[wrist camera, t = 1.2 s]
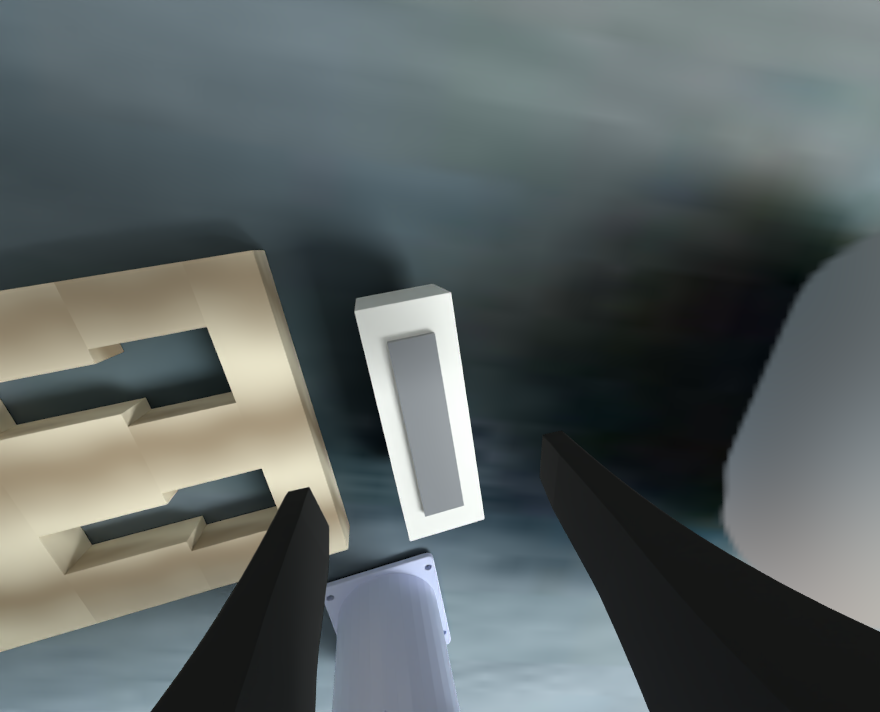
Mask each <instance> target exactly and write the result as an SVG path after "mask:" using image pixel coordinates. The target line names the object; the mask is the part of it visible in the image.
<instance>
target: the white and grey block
mask: <svg viewBox="0 0 880 712" xmlns="http://www.w3.org/2000/svg"><path fill="white" fill-rule="evenodd" d="M354 312H355V316H356V320H357V324H358V328H359V333H360V337H361V341H362V345H363V349H364V353H365V357H366V361H367V366H368V370H369V374H370V378H371V382H372V386H373V390H374V394H375V399H376V403H377V407H378V411H379V415H380V419H381V423H382V427H383V432H384V436H385V440H386V444H387V448H388V452H389V456H390V460H391V465H392V469H393V473H394V477H395V481H396V485H397V489H398V494H399V498H400V502H401V506H402V510H403V514H404V518H405V522H406V527H407V531H408V535H409V539H410V541H413V540H416V539H420V538H423V537H426V536H430V535H433V534H436V533H440V532H443V531H446V530H450V529H453V528H456V527H460V526H463V525H466V524H470V523H473V522H476V521H480V520H483V519H484V512H483V505H482V499H481V492H480V485H479V478H478V472H477V465H476V458H475V451H474V445H473V438H472V431H471V424H470V418H469V411H468V404H467V398H466V391H465V384H464V377H463V371H462V364H461V357H460V350H459V344H458V337H457V330H456V323H455V317H454V310H453V303H452V296H451V292H449V291H447V290H445V289H443V288H441V287H439V286H436V285H434V284H429V285H423V286H418V287H413V288H408V289H402V290H397V291H392V292H386V293H381V294H376V295H370V296H365V297H360V298H356V303H355V310H354Z"/></svg>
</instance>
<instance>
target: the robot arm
mask: <svg viewBox="0 0 880 712" xmlns="http://www.w3.org/2000/svg"><path fill="white" fill-rule="evenodd" d="M540 479H541V482H542V484H543V486H544V489H545V491H546V494H547V496H548V499H549V501H550V503H551V506H552V508H553V510H554V512H555V514H556V516H557V517H558V519H559V521H560V523H561V525H562V527H563V529H564V530H565V532H566V534H567V536H568V538H569V539H570V541H571V543H572V545H573V547H574V549H575V550H576V552H577V554H578V556H579V558H580V559H581V561H582V563H583V565H584V567H585V569H586V570H587V572H588V574H589V576H590V578H591V579H592V581H593V583H594V585H595V587H596V589H597V591H598V593H599V595H600V597H601V599H602V602H603V604H604V606H605V608H606V611H607V613H608V615H609V617H610V619H611V622H612V624H613V626H614V628H615V631H616V633H617V635H618V637H619V640H620V642H621V644H622V647H623V649H624V651H625V654H626V656H627V658H628V661H629V663H630V665H631V668H632V670H633V672H634V675H635V677H636V680H637V682H638V685H639V687H640V689H641V692H642V694H643V697H644V699H645V702H646V704H647V707H648V709H649V712H880V632H879V631H877V630H875V629H873V628H871V627H868V626H866V625H864V624H862V623H860V622H858V621H856V620H854V619H851V618H849V617H847V616H845V615H843V614H841V613H839V612H837V611H835V610H832V609H830V608H828V607H826V606H824V605H822V604H820V603H818V602H816V601H815V600H813V599H811V598H809V597H807V596H805V595H803V594H801V593H799V592H797V591H795V590H793V589H791V588H789V587H787V586H785V585H783V584H782V583H780V582H778V581H776V580H774V579H773V578H771V577H769V576H767V575H765V574H764V573H762V572H760V571H758V570H757V569H755V568H753V567H751V566H750V565H748V564H746V563H744V562H742V561H741V560H739V559H737V558H735V557H734V556H732V555H730V554H728V553H727V552H725V551H723V550H722V549H720V548H718V547H717V546H715V545H714V544H712V543H710V542H709V541H707V540H705V539H704V538H702V537H701V536H699V535H697V534H696V533H694V532H693V531H691V530H690V529H688V528H687V527H685V526H684V525H682V524H680V523H679V522H678V521H676V520H675V519H673V518H672V517H670V516H669V515H667V514H666V513H664V512H663V511H662V510H660V509H659V508H657V507H656V506H655V505H653V504H652V503H650V502H649V501H648V500H646V499H645V498H644V497H642V496H641V495H640V494H638V493H637V492H636V491H634V490H633V489H632V488H630V487H629V486H628V485H626V484H625V483H624V482H623V481H621V480H620V479H619V478H618V477H616V476H615V475H614V474H612V473H611V472H610V471H609V470H607V469H606V468H605V467H604V466H603V465H601V464H600V463H599V462H598V461H597V460H595V459H594V458H593V457H592V456H591V455H589V454H588V453H587V452H586V451H585V450H584V449H582V448H581V447H580V446H579V445H578V444H577V443H575V442H574V441H573V440H572V439H571V438H570V437H569V436H567V435H566V434H565V433H564V432H562V431H558V432H553V433H549V434H544V435H543V438H542V452H541V466H540ZM426 565H428V566H426ZM328 568H329V525H328V523H327V521H326V519H325V517H324V515H323V513H322V511H321V509H320V507H319V505H318V503H317V501H316V499H315V497H314V495H313V493H312V491H311V489H310V487H306V488H302V489H297V490H293V491H288V493H287V494H286V495H285V497H284V499H283V501H282V503H281V505H280V507H279V509H278V511H277V513H276V515H275V517H274V518H273V520H272V522H271V524H270V526H269V528H268V530H267V532H266V534H265V535H264V537H263V539H262V541H261V543H260V545H259V547H258V548H257V550H256V552H255V554H254V555H253V557H252V559H251V561H250V562H249V564H248V566H247V568H246V570H245V571H244V573H243V575H242V577H241V578H240V580H239V582H238V583H237V585H236V587H235V588H234V590H233V591H232V593H231V595H230V596H229V598H228V600H227V601H226V603H225V604H224V606H223V608H222V609H221V611H220V613H219V614H218V616H217V617H216V619H215V621H214V622H213V624H212V625H211V627H210V628H209V630H208V631H207V633H206V634H205V636H204V637H203V639H202V640H201V642H200V643H199V645H198V646H197V648H196V649H195V651H194V652H193V654H192V655H191V657H190V658H189V659H188V661H187V662H186V664H185V665H184V667H183V668H182V670H181V671H180V672H179V674H178V675H177V677H176V678H175V679H174V681H173V682H172V683H171V685H170V686H169V688H168V689H167V690H166V692H165V693H164V694H163V696H162V697H161V698H160V700H159V701H158V703H157V704H156V705H155V707H154V708H153V709H152V711H151V712H315V703H316V677H317V664H318V652H319V644H320V636H321V628H322V619H323V611H324V603H325V606H326V609H327V611H328V614H329V617H330V620H331V622H332V625H333V628H334V630H335V633H336V636H337V645H336V660H335V675H334V689H333V704H332V712H460V707H459V703H458V698H457V693H456V688H455V684H454V679H453V674H452V669H451V665H450V660H449V655H448V650H447V646H446V645H448V644H449V643H450V641H451V637H450V632H449V628H448V623H447V619H446V614H445V609H444V605H443V600H442V596H441V591H440V587H439V582H438V577H437V573H436V568H435V564H434V559H433V556H432V554H431V553H424V554H420V555H417V556H414V557H411V558H407V559H404V560H401V561H398V562H394V563H391V564H388V565H385V566H381V567H378V568H375V569H372V570H368V571H365V572H362V573H358V574H355V575H352V576H349V577H345V578H342V579H339V580H336V581H332V582H329V583H327V577H328ZM329 595H332V596H329Z"/></svg>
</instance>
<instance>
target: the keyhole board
mask: <svg viewBox="0 0 880 712" xmlns="http://www.w3.org/2000/svg"><path fill="white" fill-rule="evenodd" d="M204 327H207V329H208V331H209V334H210V336H211V339H212V341H213V344H214V347H215V349H216V352H217V354H218V357H219V359H220V362H221V365H222V367H223V370H224V372H225V375H226V378H227V380H228V383H229V385H230V388H231V390H232V392H228V393H224V394H219V395H214V396H210V397H205V398H201V399H196V400H191V401H187V402H182V403H177V404H173V405H168V406H164V407H159V408H154V409H151V407H150V405H149V403H148V401H147V399H146V398H141V399H137V400H132V401H127V402H122V403H118V404H113V405H108V406H104V407H99V408H94V409H89V410H85V411H80V412H75V413H70V414H66V415H61V416H56V417H52V418H47V419H42V420H37V421H33V422H28V423H23V424H19V425H16V423H15V422H14V420H13V418H12V417H11V415H10V414H9V412H8V410H7V409H6V407H5V406H4V404H3V403H2V401H1V399H0V652H2V651H5V650H9V649H12V648H16V647H19V646H22V645H26V644H29V643H33V642H36V641H39V640H43V639H46V638H50V637H53V636H56V635H60V634H63V633H66V632H70V631H73V630H77V629H80V628H83V627H87V626H90V625H94V624H97V623H100V622H104V621H107V620H110V619H114V618H117V617H121V616H124V615H127V614H131V613H134V612H138V611H141V610H144V609H148V608H151V607H155V606H158V605H161V604H165V603H168V602H171V601H175V600H178V599H182V598H185V597H188V596H192V595H195V594H199V593H202V592H205V591H209V590H212V589H216V588H219V587H222V586H226V585H229V584H232V583H236V582H239V580H240V578H241V577H242V575H243V573H244V571H245V570H246V568H247V566H248V564H249V562H250V561H251V559H252V557H253V555H254V554H255V552H256V550H257V548H258V547H259V545H260V543H261V541H262V539H263V537H264V535H265V534H266V532H267V530H268V528H269V526H270V524H271V522H272V520H273V518H274V517H275V515H276V513H277V511H278V509H279V507H280V505H281V503H282V501H283V499H284V497H285V495H286V494H287V493H288V491H293V490H297V489H302V488H306V487H310V489H311V491H312V493H313V495H314V497H315V499H316V501H317V503H318V505H319V507H320V509H321V511H322V513H323V515H324V517H325V519H326V521H327V523H328V525H329V555H331V554H334V553H337V552H341V551H344V550H348V545H349V522H348V519H347V516H346V513H345V509H344V506H343V503H342V500H341V496H340V493H339V490H338V487H337V483H336V480H335V477H334V474H333V471H332V467H331V464H330V461H329V458H328V454H327V451H326V448H325V445H324V441H323V438H322V435H321V432H320V429H319V425H318V422H317V419H316V416H315V412H314V409H313V406H312V403H311V399H310V396H309V393H308V390H307V387H306V383H305V380H304V377H303V374H302V370H301V367H300V364H299V361H298V357H297V354H296V351H295V348H294V345H293V341H292V338H291V335H290V332H289V328H288V325H287V322H286V319H285V315H284V312H283V309H282V306H281V303H280V299H279V296H278V293H277V290H276V286H275V283H274V280H273V277H272V273H271V270H270V267H269V264H268V261H267V257H266V254H265V251H264V250H251V251H245V252H239V253H233V254H226V255H220V256H214V257H208V258H201V259H195V260H189V261H183V262H177V263H170V264H164V265H158V266H152V267H145V268H139V269H133V270H127V271H121V272H114V273H108V274H102V275H96V276H89V277H83V278H77V279H71V280H65V281H58V282H52V283H46V284H40V285H33V286H27V287H21V288H15V289H8V290H2V291H0V382H5V381H10V380H15V379H20V378H25V377H30V376H35V375H40V374H46V373H51V372H56V371H61V370H66V369H71V368H76V367H82V366H87V365H92V364H96V363H99V362H101V361H103V360H106V359H108V358H110V357H113V356H115V355H117V354H120V353H122V352H124V351H123V349H122V347H121V345H120V343H124V342H129V341H135V340H140V339H145V338H151V337H156V336H161V335H167V334H172V333H177V332H182V331H188V330H193V329H198V328H204ZM261 468H262V470H263V473H264V476H265V478H266V481H267V483H268V486H269V489H270V491H271V494H272V496H273V499H274V501H275V504H276V506H274V507H271V508H267V509H263V510H260V511H256V512H252V513H248V514H245V515H241V516H237V517H233V518H230V519H226V520H222V521H219V522H215V523H211V524H206V522H205V520H204V518H203V516H199V517H196V518H192V519H188V520H184V521H180V522H177V523H173V524H169V525H165V526H161V527H158V528H154V529H150V530H146V531H143V532H139V533H135V534H131V535H127V536H124V537H120V538H116V539H112V540H109V541H105V542H101V543H97V544H93V545H92V544H91V542H90V541H89V539H88V538H87V536H86V534H85V533H84V531H83V530H82V528H81V526H84V525H88V524H92V523H96V522H99V521H103V520H107V519H111V518H115V517H119V516H123V515H127V514H131V513H135V512H138V511H142V510H146V509H150V508H154V507H158V506H162V505H166V504H168V503H169V501H170V500H171V499H172V497H173V496H174V495H175V494H176V492H177V491H178V490H179V489H181V488H185V487H189V486H193V485H197V484H201V483H205V482H209V481H213V480H217V479H221V478H225V477H229V476H233V475H237V474H241V473H245V472H249V471H253V470H257V469H261Z"/></svg>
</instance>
